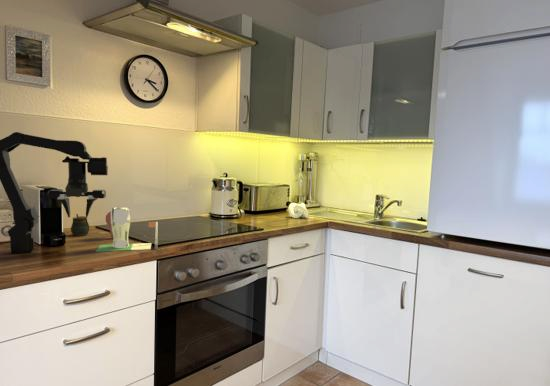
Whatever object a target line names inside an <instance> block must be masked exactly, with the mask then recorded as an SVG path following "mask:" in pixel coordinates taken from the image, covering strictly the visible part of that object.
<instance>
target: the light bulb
mask: <svg viewBox="0 0 550 386" xmlns="http://www.w3.org/2000/svg"><path fill="white" fill-rule="evenodd" d="M105 222H106V225H107V226H108V228H109V231H110V238H112V239H113V232H112V227H111V210H110V211H109V212H107V214H106V216H105Z"/></svg>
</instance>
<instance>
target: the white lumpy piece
mask: <svg viewBox="0 0 550 386" xmlns="http://www.w3.org/2000/svg"><path fill="white" fill-rule="evenodd" d="M288 213H289V214H288V215H290V217H291V218H293V219H299V218H300V217H301V218H303V219H305V218H307V217H308V215H309V213H308V209H307V207H306V204H305V203H304V202H301V203H295V202H291V203H290V204H289V205H288Z"/></svg>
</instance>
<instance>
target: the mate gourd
mask: <svg viewBox="0 0 550 386" xmlns="http://www.w3.org/2000/svg"><path fill="white" fill-rule="evenodd" d="M75 215H76V216H74V217H72V223H71V226H70V232H71V234H72V235H73V236H75V237H82V236H87V235H88V234H89V231H90V225H89V222H88V217H86V215H85V216H84V215H83V216H82V215H79V214H78V213H77V214H75Z"/></svg>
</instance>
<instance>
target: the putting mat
mask: <svg viewBox="0 0 550 386" xmlns="http://www.w3.org/2000/svg"><path fill="white" fill-rule="evenodd" d="M148 228H154V229H155V233H154V234H155V235H154V236H155V238H154V250H158V245H159V238H158V236H159V235H158V233H159V232H158V221H151V222H150V221H149V222H148ZM112 245H113V243H112V244H100V245H99V246H98V247H97V249H96V250H95V253H96V252H98V253H100V252H101V253H102V252H122V251H124V252H126V251H148V250H151V249H152V242H148V243H147V242H146V243H144V242H143V243H129V247H128V248H123V249H115V248H112Z"/></svg>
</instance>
